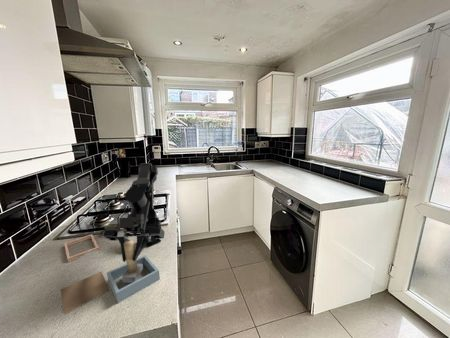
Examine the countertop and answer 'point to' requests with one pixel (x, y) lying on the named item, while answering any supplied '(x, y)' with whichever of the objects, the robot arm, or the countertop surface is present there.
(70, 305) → the far plate
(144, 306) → the countertop surface
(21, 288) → the countertop surface
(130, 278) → the rubber stamp
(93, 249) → the pink rectangular frame
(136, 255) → the robot arm
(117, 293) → the box
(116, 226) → the tape measure
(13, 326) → the countertop surface
